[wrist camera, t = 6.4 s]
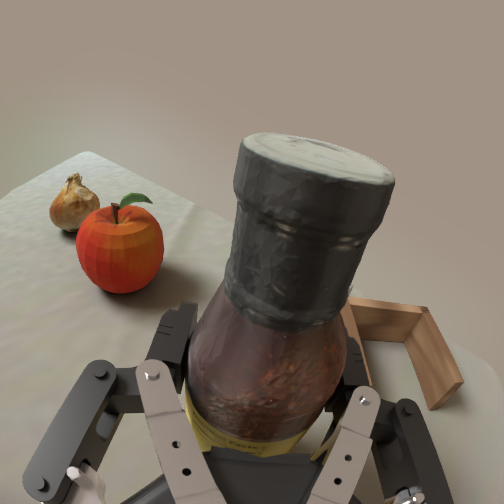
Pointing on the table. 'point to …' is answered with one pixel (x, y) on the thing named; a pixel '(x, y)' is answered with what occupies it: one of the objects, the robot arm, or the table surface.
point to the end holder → (407, 342)
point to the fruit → (121, 246)
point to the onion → (73, 204)
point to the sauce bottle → (282, 293)
